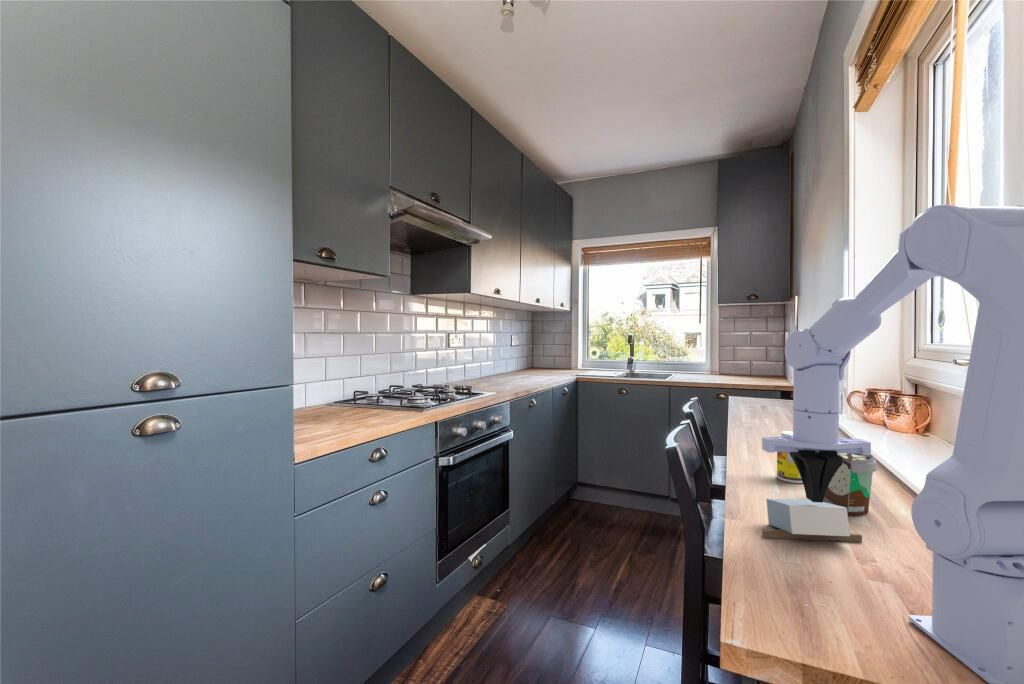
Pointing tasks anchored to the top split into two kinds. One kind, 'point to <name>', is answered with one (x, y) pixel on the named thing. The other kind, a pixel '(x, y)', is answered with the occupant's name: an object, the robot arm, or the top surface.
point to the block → (808, 517)
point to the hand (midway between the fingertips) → (814, 500)
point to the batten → (809, 536)
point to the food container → (852, 483)
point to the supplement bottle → (787, 465)
